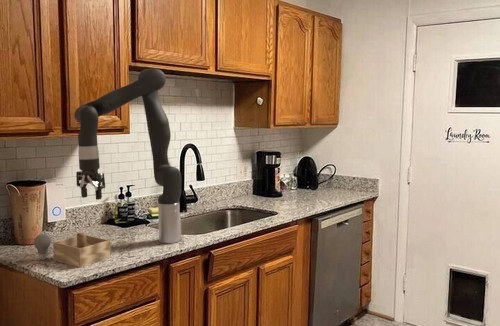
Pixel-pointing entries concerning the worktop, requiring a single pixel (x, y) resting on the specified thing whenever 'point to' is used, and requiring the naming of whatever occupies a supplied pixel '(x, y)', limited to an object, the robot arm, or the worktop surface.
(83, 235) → the peg
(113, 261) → the worktop surface
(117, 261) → the worktop surface
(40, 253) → the light bulb
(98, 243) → the crate
